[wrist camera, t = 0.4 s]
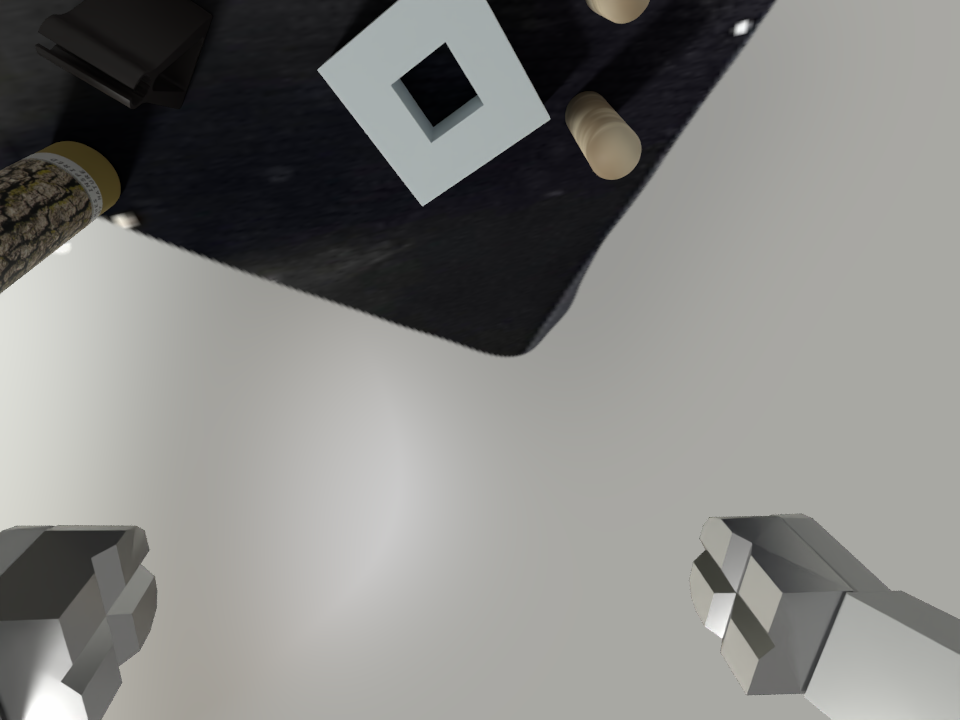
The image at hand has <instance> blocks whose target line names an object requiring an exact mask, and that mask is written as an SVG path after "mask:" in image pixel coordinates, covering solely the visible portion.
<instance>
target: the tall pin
mask: <svg viewBox="0 0 960 720" xmlns="http://www.w3.org/2000/svg"><path fill="white" fill-rule="evenodd" d="M565 120H566V124H567V126H568V128H569V130H570V131H571V133H572V135H573V136H574V138H575V140H576V142H577V143H578V145H579V147H580V149H581V150H582V152H583V154H584V155H585V157H586V159H587V161H588V162H589V164H590V166H591V167H592V169H593V171H594V172H595V173H596V174H597V175H598V176H600V177H601V178H604V179H609V180H614V179H619V178H621V177H624V176H625V175H627V174H628V173H630V172H631V171H632V170H633V169H634V167H635V166H636V165H637V163H638V161H639V159H640V155H641V143H640V140H639V138H638V136H637V135H636V134H635V132H634V131H633V130H632V129H631V128H630V127H629V126H628V125H627V124H626V123H625V121H624V120H623V119H622V118H621V117H620V116H619V115H618V114H617V113H616V111H615V110H614V109H613V108H612V107H611V106H610V105H609V104H608V103H607V101H606V100H605V99H604V98H603V97H602V96H601V95H600V94H598V93H596V92H593V91H584V92H581V93H579V94H577V95H576V96H575V97H574V98H573V99H572V100H571V101H570V102H569V104H568V106H567V109H566V113H565Z"/></svg>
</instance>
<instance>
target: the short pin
mask: <svg viewBox="0 0 960 720" xmlns="http://www.w3.org/2000/svg"><path fill="white" fill-rule="evenodd" d="M649 1H650V0H586V2H587V4H588V6H589V7H590V8H591V10H593V11H594V12H596V13H598V14H599V15H601V16H603V17H605V18H607V19H609V20H610V21H612V22H615V23H627V22H630V21H633V20H634V19H636V18H637V17H638V16H640V15H641V14H642V12H643V11H644V10H645V8H646V7H647V5H648V3H649Z"/></svg>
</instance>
